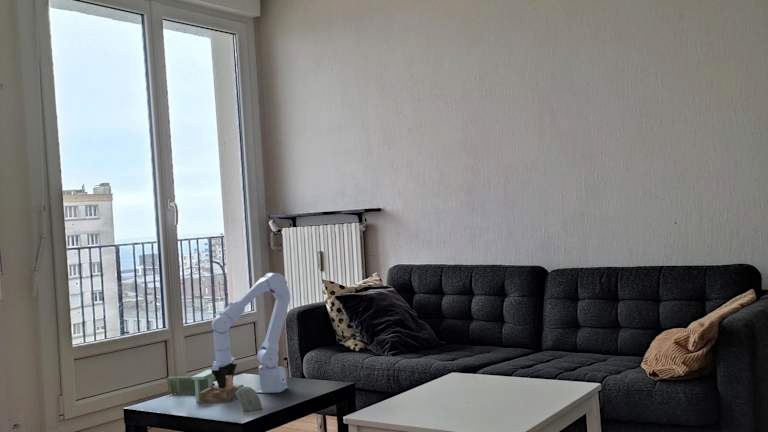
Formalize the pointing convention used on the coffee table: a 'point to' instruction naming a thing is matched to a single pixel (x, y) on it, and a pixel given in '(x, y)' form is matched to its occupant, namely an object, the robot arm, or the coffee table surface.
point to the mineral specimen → (248, 398)
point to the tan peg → (228, 383)
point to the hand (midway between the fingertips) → (225, 386)
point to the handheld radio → (185, 384)
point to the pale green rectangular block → (202, 375)
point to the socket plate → (218, 394)
